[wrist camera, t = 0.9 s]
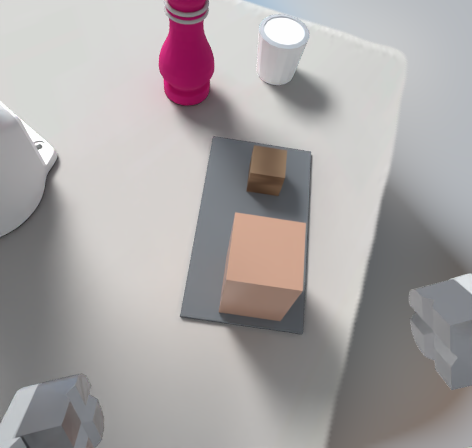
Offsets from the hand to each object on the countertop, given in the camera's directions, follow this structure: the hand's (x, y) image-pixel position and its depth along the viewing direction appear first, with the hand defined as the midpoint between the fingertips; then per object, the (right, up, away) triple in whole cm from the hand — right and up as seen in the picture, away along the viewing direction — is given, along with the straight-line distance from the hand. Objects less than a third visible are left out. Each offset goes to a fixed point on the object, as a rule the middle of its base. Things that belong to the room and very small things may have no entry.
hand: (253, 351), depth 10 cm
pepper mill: (-7, +22, +49) cm, 54 cm away
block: (+3, +9, +42) cm, 43 cm away
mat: (+2, +3, +40) cm, 40 cm away
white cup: (+5, +26, +52) cm, 58 cm away
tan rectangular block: (+1, -4, +36) cm, 36 cm away
